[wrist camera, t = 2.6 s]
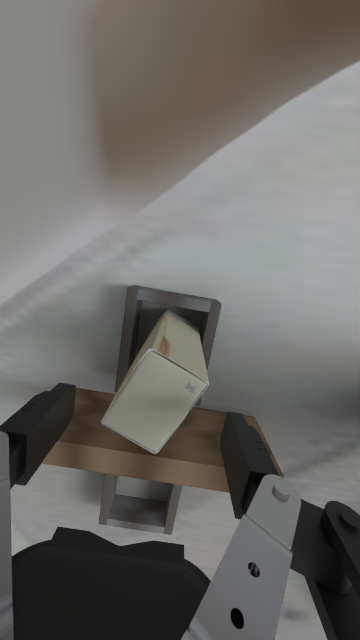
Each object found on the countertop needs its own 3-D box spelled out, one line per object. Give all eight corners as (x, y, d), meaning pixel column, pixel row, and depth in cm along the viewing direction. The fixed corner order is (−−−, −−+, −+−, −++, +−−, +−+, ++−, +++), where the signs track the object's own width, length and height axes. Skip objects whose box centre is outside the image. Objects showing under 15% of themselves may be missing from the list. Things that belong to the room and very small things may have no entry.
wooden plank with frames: (284, 311, 24) (332, 331, 16) (226, 517, 30) (241, 602, 23) (64, 273, 24) (6, 273, 16) (51, 490, 30) (4, 568, 22)
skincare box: (166, 306, 24) (150, 341, 12) (199, 327, 25) (215, 380, 13) (136, 353, 26) (96, 425, 14) (168, 372, 26) (156, 458, 14)
